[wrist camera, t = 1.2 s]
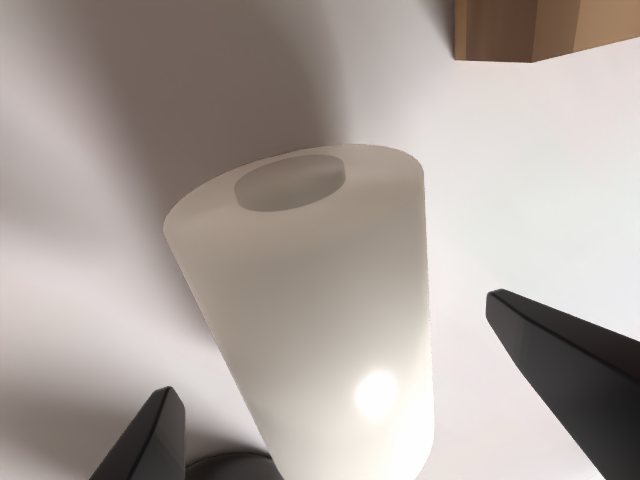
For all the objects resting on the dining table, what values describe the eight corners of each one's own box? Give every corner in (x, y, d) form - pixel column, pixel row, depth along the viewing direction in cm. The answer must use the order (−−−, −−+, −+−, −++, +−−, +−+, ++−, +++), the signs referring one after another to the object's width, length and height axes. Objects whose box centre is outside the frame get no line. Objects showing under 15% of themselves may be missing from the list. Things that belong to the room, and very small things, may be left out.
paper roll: (180, 168, 10) (118, 282, 5) (370, 121, 11) (486, 184, 6) (265, 376, 15) (277, 542, 10) (395, 337, 16) (470, 478, 10)
